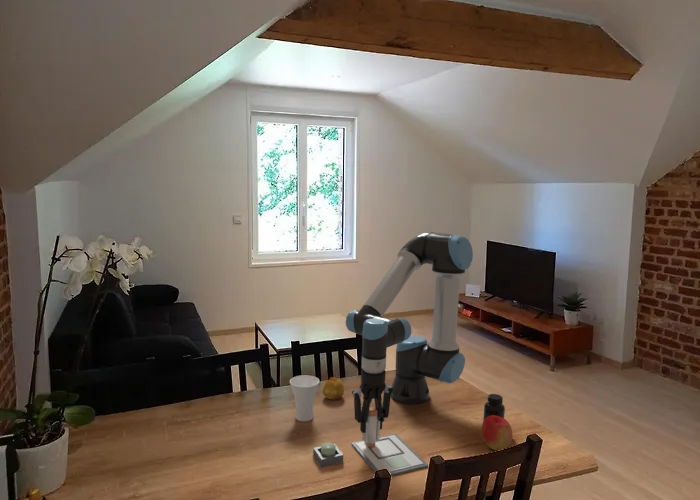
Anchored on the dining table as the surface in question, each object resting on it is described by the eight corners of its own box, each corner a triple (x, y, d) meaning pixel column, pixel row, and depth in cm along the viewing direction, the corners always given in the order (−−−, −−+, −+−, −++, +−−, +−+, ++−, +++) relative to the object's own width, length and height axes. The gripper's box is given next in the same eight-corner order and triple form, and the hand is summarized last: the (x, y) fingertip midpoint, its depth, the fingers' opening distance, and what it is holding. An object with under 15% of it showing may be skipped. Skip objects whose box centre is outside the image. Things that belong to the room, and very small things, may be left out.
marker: (363, 443, 165) (364, 407, 163) (373, 441, 167) (374, 406, 165) (368, 448, 162) (369, 412, 160) (378, 446, 163) (379, 410, 162)
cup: (324, 414, 186) (324, 378, 184) (309, 427, 177) (310, 389, 175) (299, 408, 191) (299, 373, 189) (283, 420, 181) (283, 383, 179)
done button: (318, 453, 159) (318, 444, 158) (332, 450, 160) (332, 441, 160) (323, 461, 155) (324, 451, 154) (337, 458, 156) (337, 448, 156)
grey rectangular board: (351, 444, 166) (351, 441, 166) (395, 435, 173) (395, 432, 173) (380, 478, 148) (380, 475, 148) (427, 466, 155) (428, 463, 154)
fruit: (325, 384, 206) (325, 372, 201) (345, 388, 205) (346, 375, 200) (321, 402, 200) (320, 390, 195) (341, 406, 199) (342, 393, 194)
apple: (478, 452, 163) (480, 422, 162) (482, 438, 172) (484, 409, 171) (510, 459, 160) (512, 428, 158) (512, 444, 169) (514, 415, 167)
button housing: (313, 455, 159) (313, 447, 159) (334, 450, 162) (334, 443, 162) (321, 467, 153) (321, 459, 153) (343, 462, 156) (343, 454, 156)
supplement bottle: (504, 435, 174) (506, 402, 172) (483, 433, 175) (485, 399, 173) (502, 426, 181) (504, 393, 179) (482, 423, 182) (484, 391, 180)
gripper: (354, 377, 154) (352, 451, 157) (402, 370, 160) (399, 441, 164) (344, 368, 161) (342, 439, 164) (391, 361, 167) (388, 430, 171)
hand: (370, 440), depth 164 cm, fingers closed on marker, 3 cm apart
